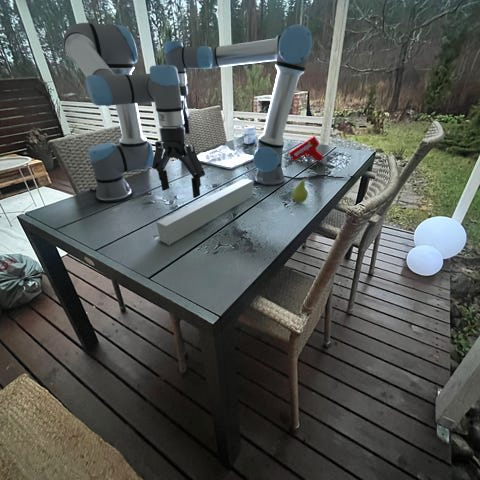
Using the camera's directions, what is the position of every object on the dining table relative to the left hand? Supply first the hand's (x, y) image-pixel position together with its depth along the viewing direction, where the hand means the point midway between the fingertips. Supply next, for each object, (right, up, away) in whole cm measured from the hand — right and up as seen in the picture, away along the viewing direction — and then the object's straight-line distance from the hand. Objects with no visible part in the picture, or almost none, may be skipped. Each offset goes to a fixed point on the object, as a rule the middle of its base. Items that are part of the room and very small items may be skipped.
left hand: (180, 192), depth 93 cm
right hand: (-6, +33, +36) cm, 49 cm away
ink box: (+28, +61, +123) cm, 140 cm away
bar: (+9, -6, +19) cm, 22 cm away
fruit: (+47, +1, +29) cm, 55 cm away
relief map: (+9, +37, +86) cm, 94 cm away
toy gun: (+62, +35, +81) cm, 108 cm away
